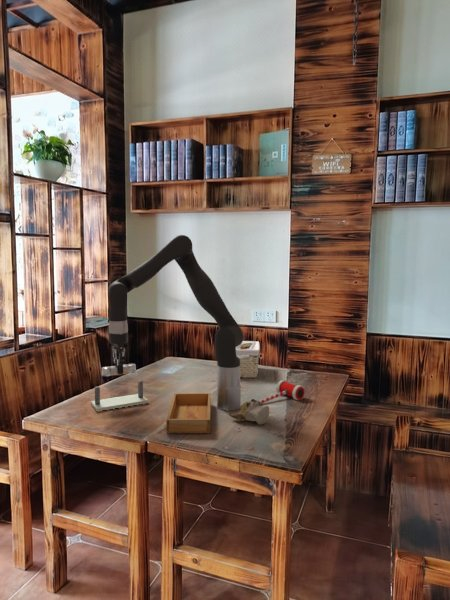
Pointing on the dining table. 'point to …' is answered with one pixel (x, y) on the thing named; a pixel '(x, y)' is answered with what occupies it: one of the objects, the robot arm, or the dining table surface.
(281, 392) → the toy hammer
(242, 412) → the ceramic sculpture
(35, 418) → the dining table surface
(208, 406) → the tray
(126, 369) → the grey dumbbell
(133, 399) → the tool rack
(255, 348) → the storage basket
